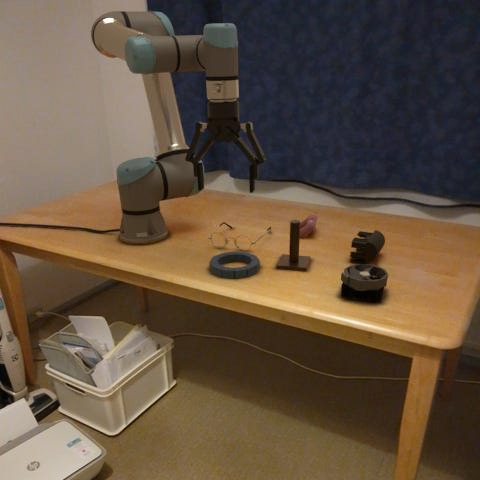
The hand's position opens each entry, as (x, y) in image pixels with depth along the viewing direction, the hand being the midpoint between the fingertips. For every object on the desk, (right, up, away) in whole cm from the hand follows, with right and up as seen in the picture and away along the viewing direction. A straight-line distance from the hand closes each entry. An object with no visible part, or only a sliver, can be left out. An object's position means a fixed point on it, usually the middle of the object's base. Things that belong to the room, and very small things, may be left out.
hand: (226, 190), depth 124 cm
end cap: (+39, -17, +9) cm, 43 cm away
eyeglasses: (+4, -9, +24) cm, 26 cm away
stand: (+18, -18, +7) cm, 27 cm away
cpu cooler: (+33, -27, -9) cm, 44 cm away
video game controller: (+25, -6, +28) cm, 38 cm away
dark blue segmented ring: (+2, -19, +6) cm, 20 cm away
